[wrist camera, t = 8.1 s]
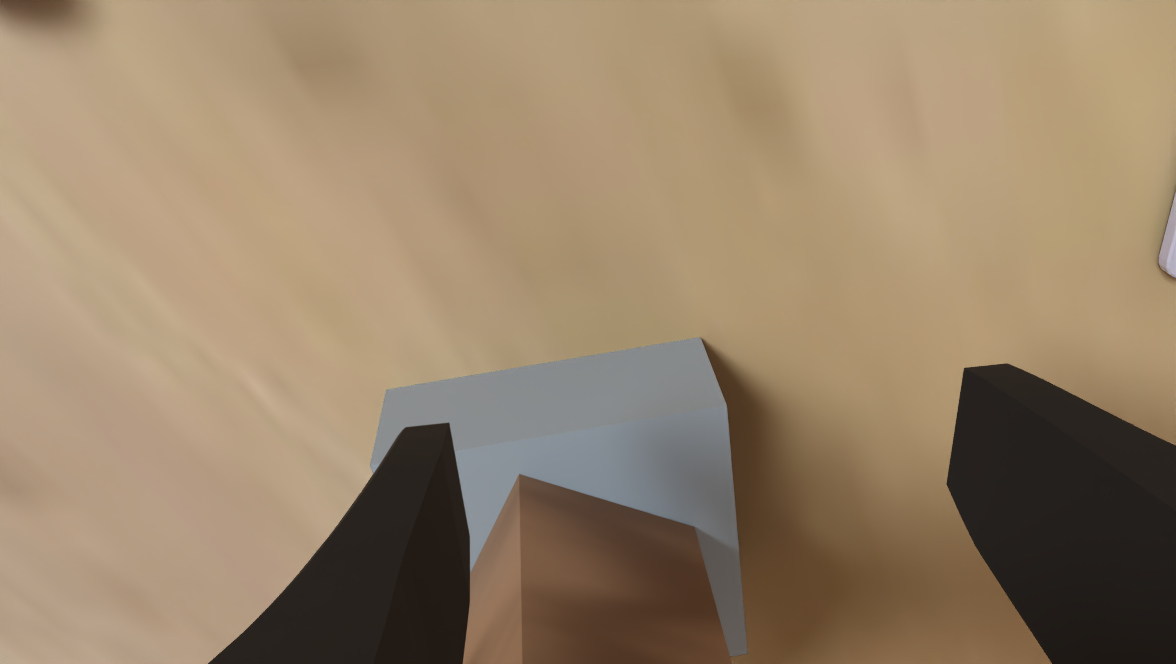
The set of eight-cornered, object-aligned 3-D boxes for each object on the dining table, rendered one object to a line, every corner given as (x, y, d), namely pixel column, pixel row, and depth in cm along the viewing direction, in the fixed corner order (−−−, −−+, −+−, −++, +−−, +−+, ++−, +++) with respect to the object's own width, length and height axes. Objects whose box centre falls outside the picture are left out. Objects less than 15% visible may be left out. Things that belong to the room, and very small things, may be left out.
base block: (697, 329, 23) (726, 405, 20) (720, 561, 27) (747, 653, 24) (387, 381, 23) (370, 464, 20) (455, 605, 27) (449, 703, 24)
